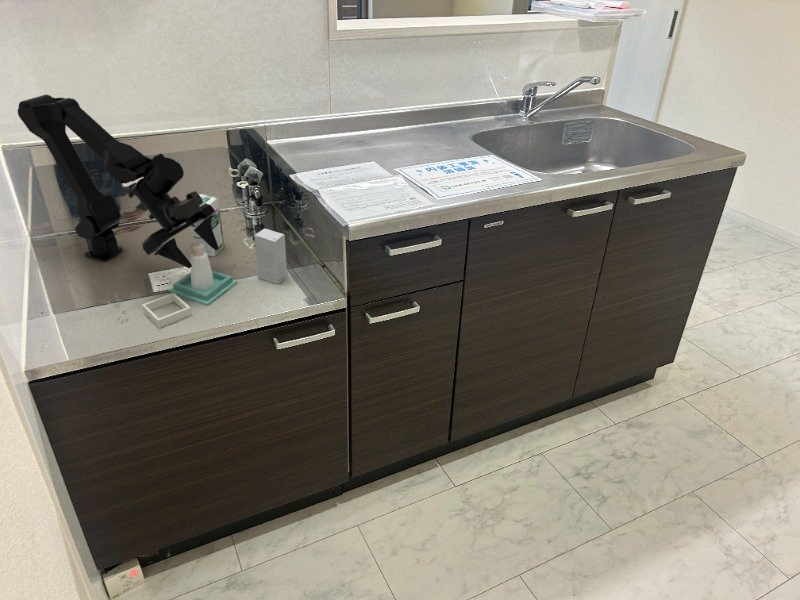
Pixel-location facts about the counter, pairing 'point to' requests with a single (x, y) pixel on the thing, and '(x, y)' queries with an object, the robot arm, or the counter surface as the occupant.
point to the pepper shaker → (200, 269)
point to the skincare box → (271, 255)
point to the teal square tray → (203, 297)
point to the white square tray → (171, 317)
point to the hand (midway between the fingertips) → (204, 258)
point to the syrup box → (215, 226)
